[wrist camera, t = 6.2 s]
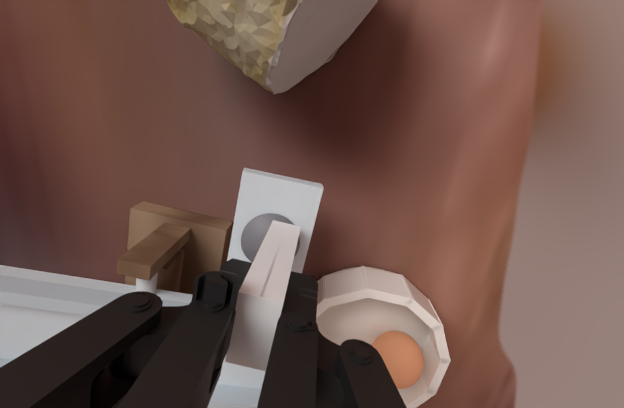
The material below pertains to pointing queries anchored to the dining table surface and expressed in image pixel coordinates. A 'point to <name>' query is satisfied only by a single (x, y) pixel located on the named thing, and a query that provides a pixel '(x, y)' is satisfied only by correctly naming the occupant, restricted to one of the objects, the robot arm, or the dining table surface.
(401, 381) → the ball
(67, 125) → the dining table surface
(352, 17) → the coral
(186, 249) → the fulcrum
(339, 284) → the bowl
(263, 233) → the lever
